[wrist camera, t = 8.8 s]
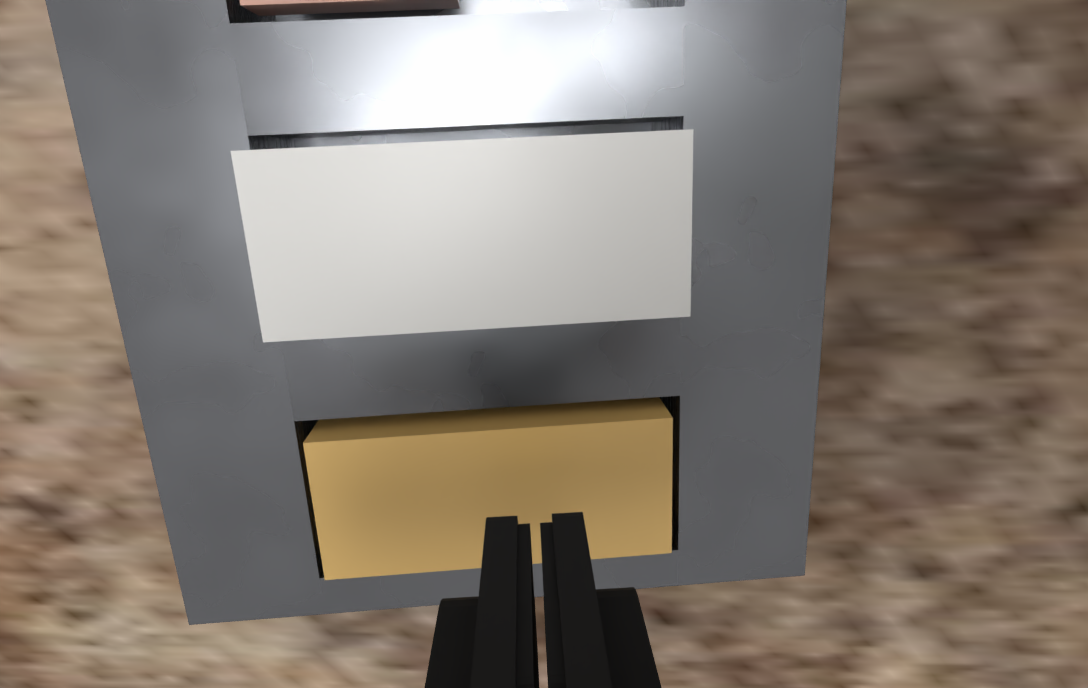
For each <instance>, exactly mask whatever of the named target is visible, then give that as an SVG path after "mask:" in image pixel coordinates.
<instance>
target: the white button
mask: <svg viewBox="0 0 1088 688" xmlns="http://www.w3.org/2000/svg"><path fill="white" fill-rule="evenodd" d="M231 157H232V163H233V168H234V174H235V180H236V186H237V192H238V198H239V204H240V210H241V216H242V221H243V227H244V233H245V239H246V245H247V251H248V257H249V263H250V269H251V274H252V280H253V286H254V292H255V298H256V304H257V310H258V316H259V322H260V327H261V333H262V339H263V342H278V341H295V340H311V339H328V338H344V337H361V336H377V335H394V334H410V333H427V332H443V331H460V330H476V329H493V328H509V327H526V326H542V325H559V324H575V323H592V322H608V321H625V320H641V319H658V318H674V317H690V314H691V251H692V188H693V129H688V130H667V131H646V132H624V133H603V134H581V135H560V136H539V137H517V138H496V139H474V140H453V141H431V142H410V143H389V144H367V145H346V146H324V147H303V148H282V149H260V150H239V151H231Z"/></svg>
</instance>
